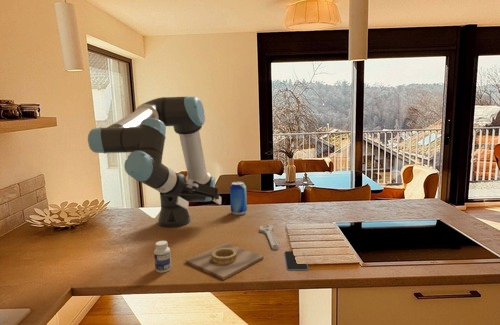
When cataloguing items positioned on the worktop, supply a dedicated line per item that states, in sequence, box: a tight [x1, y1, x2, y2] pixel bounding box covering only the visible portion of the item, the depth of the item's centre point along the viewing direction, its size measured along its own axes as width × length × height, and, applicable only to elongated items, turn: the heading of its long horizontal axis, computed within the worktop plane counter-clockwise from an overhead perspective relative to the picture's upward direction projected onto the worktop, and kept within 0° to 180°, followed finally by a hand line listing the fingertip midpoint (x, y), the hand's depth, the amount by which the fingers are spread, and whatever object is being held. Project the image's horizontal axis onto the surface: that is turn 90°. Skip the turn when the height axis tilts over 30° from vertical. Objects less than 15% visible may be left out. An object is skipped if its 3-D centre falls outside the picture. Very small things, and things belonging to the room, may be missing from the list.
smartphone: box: [284, 250, 309, 272], centre depth 123 cm, size 7×1×15 cm
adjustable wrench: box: [259, 224, 280, 251], centre depth 145 cm, size 25×6×2 cm, turn 2°
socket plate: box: [185, 242, 264, 281], centre depth 125 cm, size 20×20×3 cm
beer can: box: [229, 181, 248, 216], centre depth 179 cm, size 8×8×16 cm
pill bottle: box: [153, 240, 172, 273], centre depth 119 cm, size 5×5×10 cm
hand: (203, 203), depth 123 cm, fingers open, 13 cm apart
